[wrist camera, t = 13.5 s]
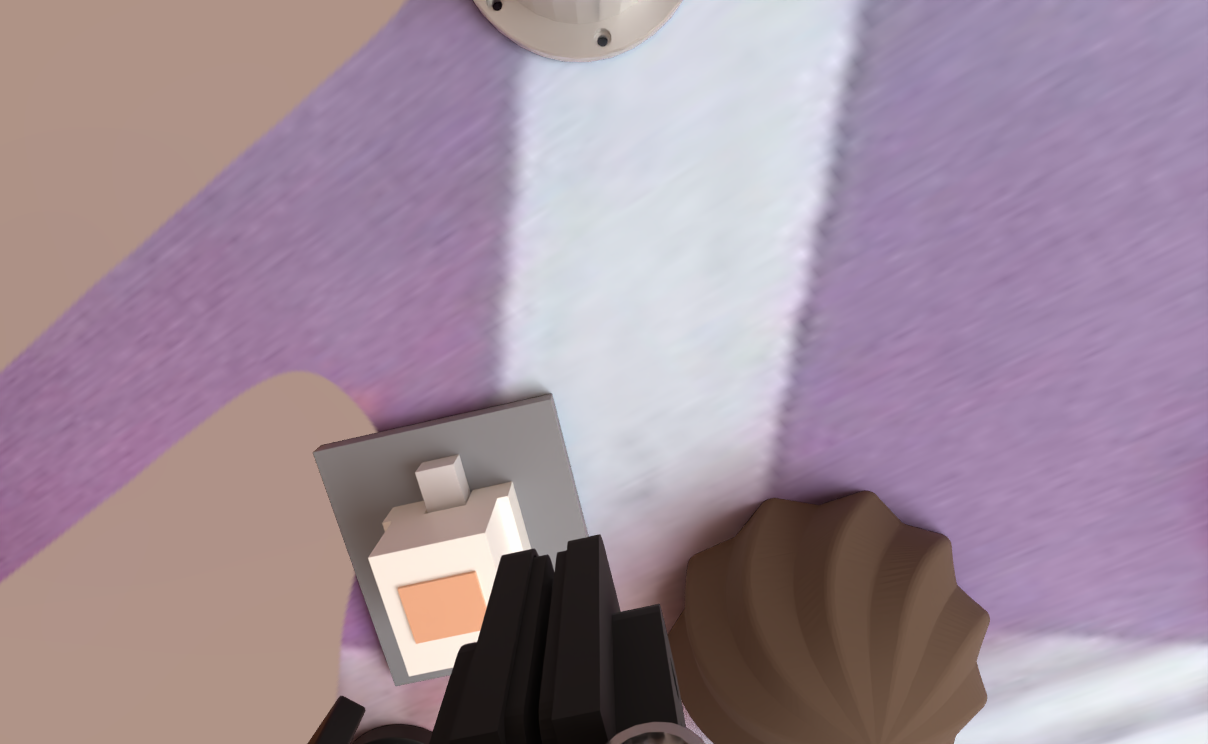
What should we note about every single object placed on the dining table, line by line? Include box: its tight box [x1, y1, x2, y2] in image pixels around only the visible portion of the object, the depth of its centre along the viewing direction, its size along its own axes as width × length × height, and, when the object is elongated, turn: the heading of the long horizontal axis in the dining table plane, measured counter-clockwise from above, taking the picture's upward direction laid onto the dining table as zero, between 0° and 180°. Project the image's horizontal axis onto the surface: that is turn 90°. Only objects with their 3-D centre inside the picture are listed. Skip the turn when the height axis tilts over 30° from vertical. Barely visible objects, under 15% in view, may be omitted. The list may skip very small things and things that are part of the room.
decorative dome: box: [668, 491, 990, 744], centre depth 37 cm, size 19×20×10 cm
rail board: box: [313, 394, 589, 686], centre depth 39 cm, size 16×14×3 cm
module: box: [368, 482, 531, 676], centre depth 36 cm, size 7×7×6 cm
